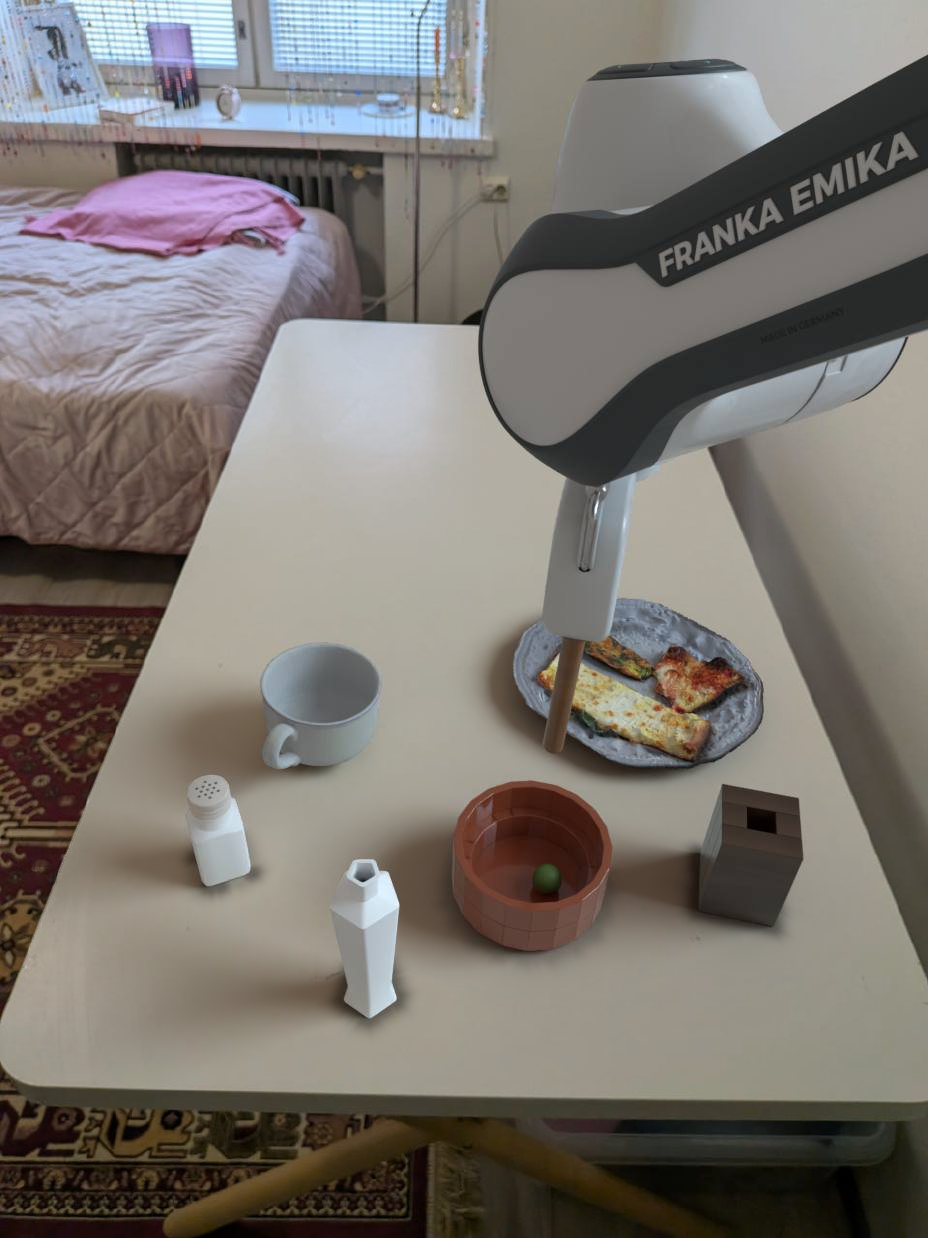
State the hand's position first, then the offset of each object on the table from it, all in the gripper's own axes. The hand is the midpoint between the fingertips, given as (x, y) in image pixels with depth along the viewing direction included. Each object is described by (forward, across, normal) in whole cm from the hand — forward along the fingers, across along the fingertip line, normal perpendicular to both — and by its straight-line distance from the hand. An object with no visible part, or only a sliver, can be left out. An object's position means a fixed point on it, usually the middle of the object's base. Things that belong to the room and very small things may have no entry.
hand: (583, 600), depth 59 cm
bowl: (+29, -2, +1) cm, 29 cm away
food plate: (+30, +24, -6) cm, 39 cm away
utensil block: (+29, +2, -16) cm, 33 cm away
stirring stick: (+14, 0, +1) cm, 14 cm away
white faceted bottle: (+29, -13, +11) cm, 34 cm away
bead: (+27, -2, -1) cm, 27 cm away
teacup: (+30, +9, +23) cm, 38 cm away
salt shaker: (+30, -5, +26) cm, 40 cm away
